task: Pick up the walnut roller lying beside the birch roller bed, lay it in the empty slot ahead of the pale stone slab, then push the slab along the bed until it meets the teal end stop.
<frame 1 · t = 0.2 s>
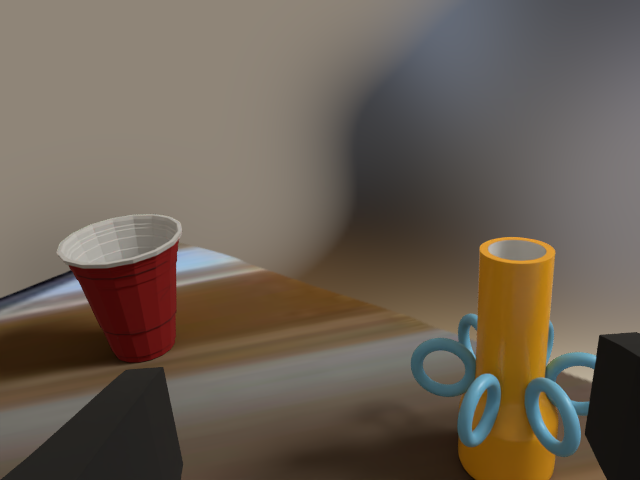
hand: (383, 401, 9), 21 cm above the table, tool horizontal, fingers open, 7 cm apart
cylinder: (505, 462, 36), on the table
plastic cup: (145, 349, 53), on the table
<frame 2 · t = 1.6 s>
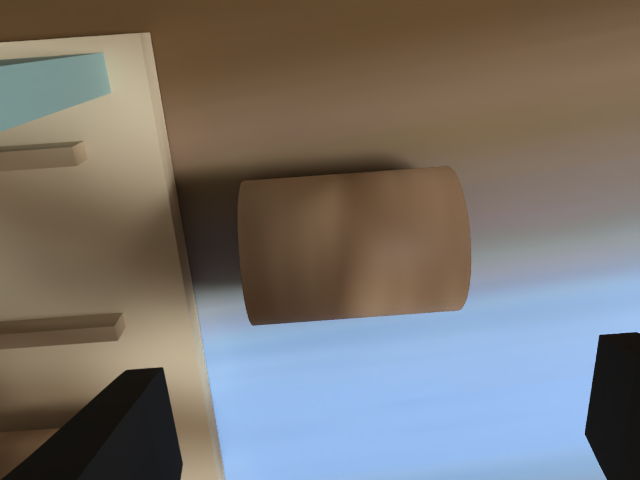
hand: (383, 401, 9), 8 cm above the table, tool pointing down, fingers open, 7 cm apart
roller bed: (37, 397, 19), on the table
roller: (344, 226, 17), on the table
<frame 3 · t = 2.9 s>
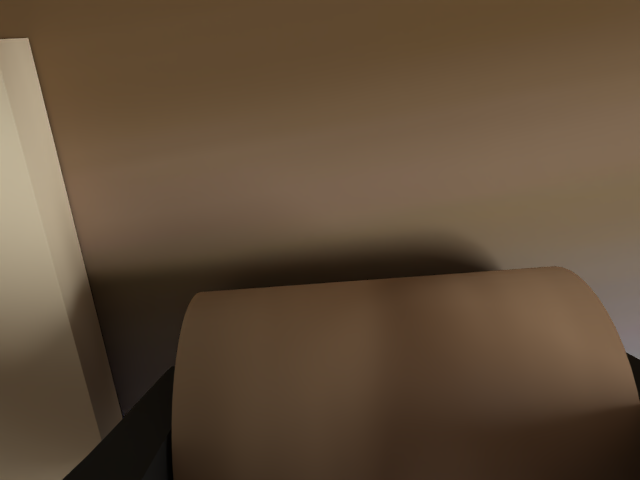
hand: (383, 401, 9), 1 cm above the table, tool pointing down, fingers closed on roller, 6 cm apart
roller: (372, 354, 10), on the table, tilted 9°, touching gripper
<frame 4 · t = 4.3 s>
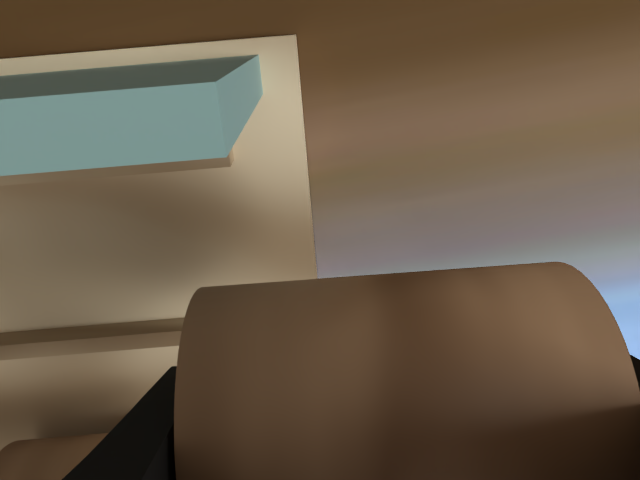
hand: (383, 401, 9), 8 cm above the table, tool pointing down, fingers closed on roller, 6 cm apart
roller bed: (156, 396, 19), on the table
roller: (373, 350, 10), point 7 cm above the table, tilted 9°, touching gripper
when the fingers open (4 cm above the table, at t = 6.1 s): roller drops 1 cm, resting on roller bed.
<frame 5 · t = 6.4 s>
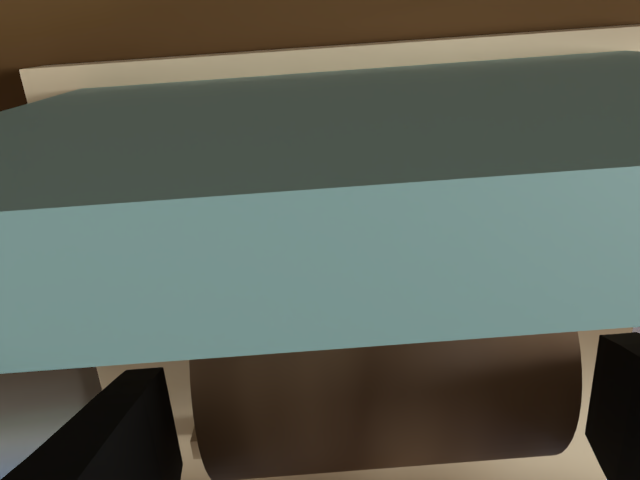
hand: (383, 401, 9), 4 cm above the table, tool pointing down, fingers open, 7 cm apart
roller: (361, 312, 12), point 1 cm above the table, tilted 11°, touching roller bed
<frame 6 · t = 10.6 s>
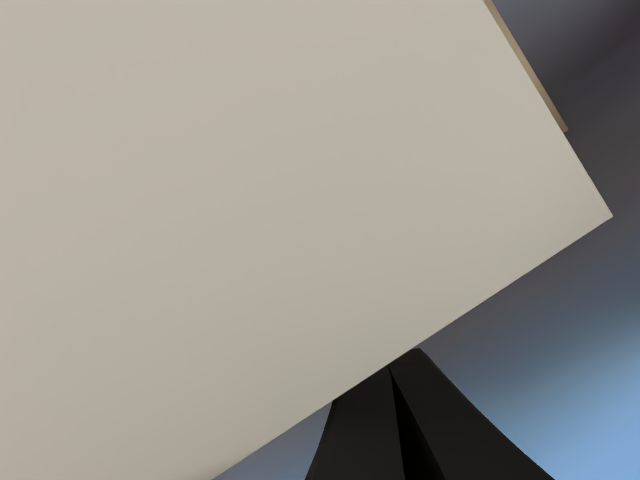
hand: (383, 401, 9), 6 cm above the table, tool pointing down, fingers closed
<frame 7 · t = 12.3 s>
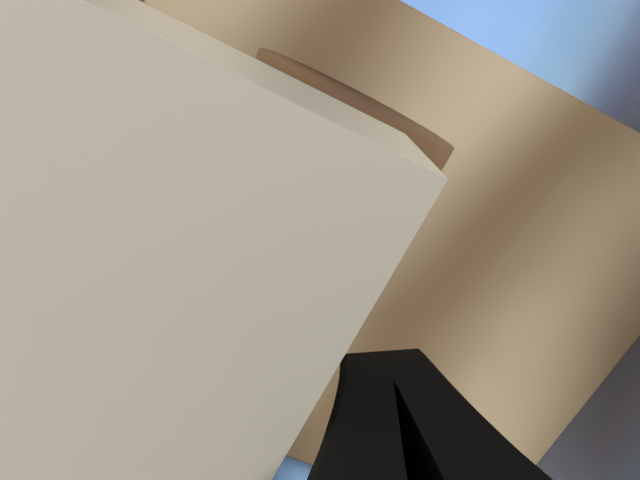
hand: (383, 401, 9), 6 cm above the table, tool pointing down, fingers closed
roller bed: (222, 201, 14), on the table
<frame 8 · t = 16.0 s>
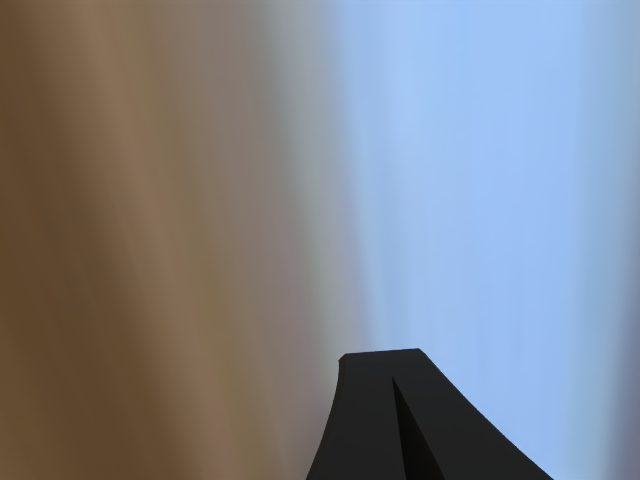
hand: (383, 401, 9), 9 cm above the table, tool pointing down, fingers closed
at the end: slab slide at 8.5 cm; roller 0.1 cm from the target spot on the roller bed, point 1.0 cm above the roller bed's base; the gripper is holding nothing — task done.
